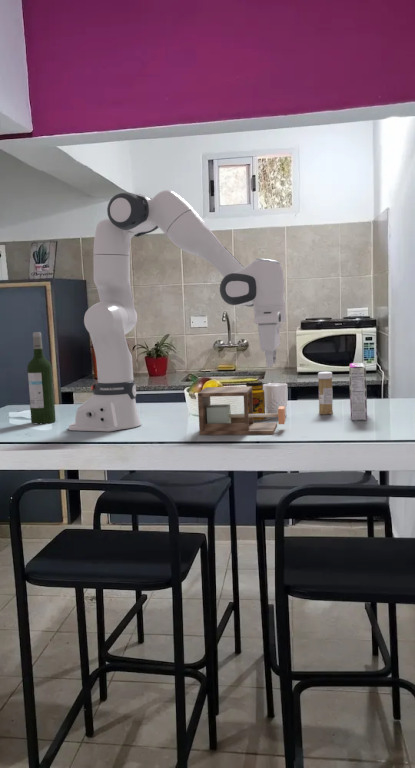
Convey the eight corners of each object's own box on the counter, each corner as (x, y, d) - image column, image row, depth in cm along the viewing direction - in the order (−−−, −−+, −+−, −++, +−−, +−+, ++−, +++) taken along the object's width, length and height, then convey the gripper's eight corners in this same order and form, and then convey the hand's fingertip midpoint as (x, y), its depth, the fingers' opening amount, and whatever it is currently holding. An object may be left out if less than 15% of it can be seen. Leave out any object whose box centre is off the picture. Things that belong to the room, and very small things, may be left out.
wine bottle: (58, 419, 237) (52, 331, 233) (51, 424, 229) (44, 332, 225) (36, 420, 238) (29, 332, 234) (28, 424, 230) (20, 333, 226)
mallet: (207, 428, 202) (206, 407, 201) (211, 424, 207) (210, 404, 207) (284, 427, 198) (283, 406, 197) (285, 423, 203) (285, 403, 203)
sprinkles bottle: (317, 412, 227) (316, 371, 225) (331, 412, 227) (330, 371, 226) (321, 415, 222) (319, 373, 221) (335, 414, 223) (334, 372, 221)
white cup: (261, 416, 224) (260, 386, 223) (266, 412, 232) (265, 383, 231) (285, 417, 222) (284, 385, 221) (290, 412, 229) (289, 382, 228)
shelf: (199, 434, 199) (197, 393, 197) (207, 426, 211) (205, 387, 210) (273, 434, 195) (271, 391, 194) (277, 425, 207) (275, 385, 206)
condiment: (249, 422, 216) (247, 383, 215) (239, 418, 224) (238, 381, 223) (271, 420, 218) (269, 381, 217) (261, 416, 226) (259, 379, 225)
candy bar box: (350, 414, 221) (349, 363, 219) (366, 414, 220) (365, 362, 218) (350, 420, 210) (349, 366, 208) (367, 420, 209) (366, 366, 207)
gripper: (262, 315, 208) (264, 361, 210) (254, 317, 188) (256, 368, 190) (283, 314, 207) (285, 361, 208) (277, 316, 187) (279, 368, 189)
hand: (271, 364), depth 199 cm, fingers open, 8 cm apart
